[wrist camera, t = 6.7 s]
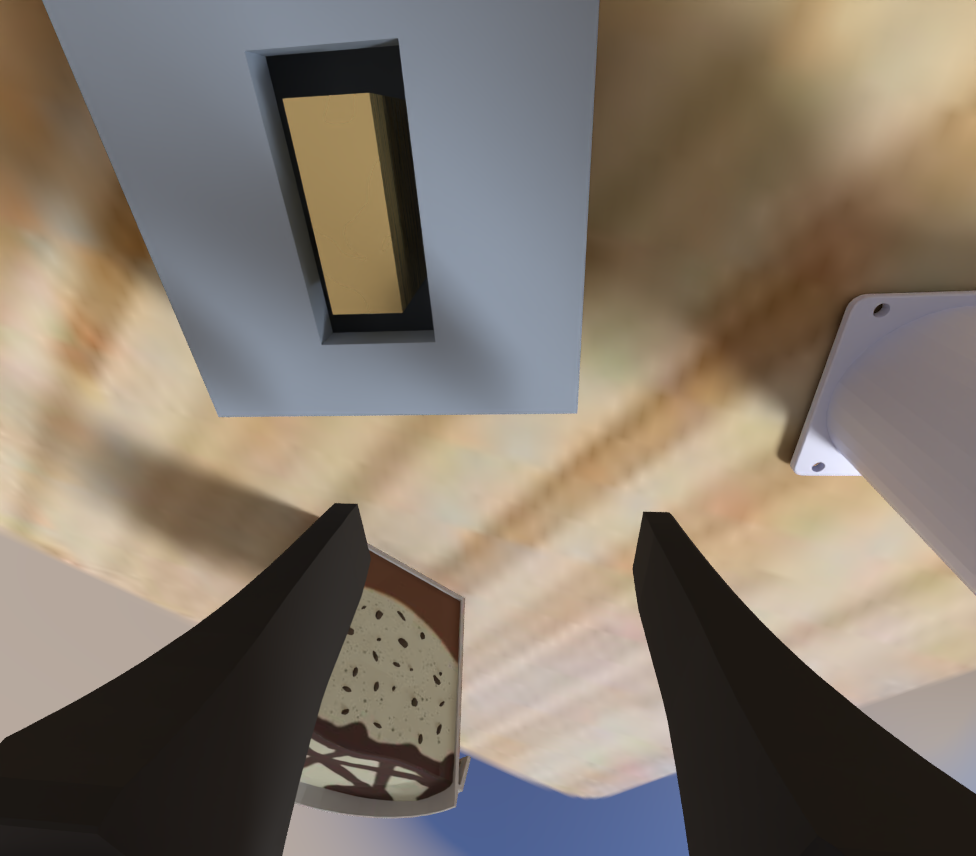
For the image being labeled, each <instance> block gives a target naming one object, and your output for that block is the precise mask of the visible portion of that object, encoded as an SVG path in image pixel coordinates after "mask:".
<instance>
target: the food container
mask: <svg viewBox="0 0 976 856" xmlns="http://www.w3.org/2000/svg"><path fill="white" fill-rule="evenodd" d="M367 545H368V549H369V553H370V557H371V561H370V565H369V570H368V574H367V578H366V582H365V586H364V589H363V593H362V597H361V599H360V602H359V605H358V607H357V610H356V613H355V615H354V618H353V620H352V623H351V626H350V628H349V631H348V633H347V636H346V638H345V641H344V644H343V646H342V649H341V651H340V654H339V656H338V659H337V661H336V664H335V666H334V669H333V672H332V674H331V677H330V679H329V682H328V685H327V688H326V691H325V694H324V696H323V699H322V703H321V706H320V710H319V713H318V717H317V720H316V724H315V727H314V731H313V734H312V738H311V741H310V745H309V749H308V752H307V756H306V760H305V764H304V767H303V771H302V775H301V779H300V782H299V786H298V790H297V795H296V799H295V803H294V804H297V805H301V806H305V807H308V808H312V809H316V810H321V811H326V812H331V813H336V814H342V815H349V816H357V817H369V818H407V817H408V818H409V817H418V816H425V815H431V814H435V813H438V812H443V811H445V810H448V809H452V808H454V807H456V803H457V796H458V793H459V792H461V791H463V787H464V783H465V779H466V775H467V771H468V767H469V763H470V759H471V757H470V756H466V757H464V758H461V759H459V751H460V722H461V693H462V665H463V636H464V607H465V598H463V597H462V596H460V595H458V594H456V593H454V592H453V591H451V590H449V589H447V588H446V587H444V586H442V585H440V584H439V583H437V582H435V581H433V580H431V579H430V578H428V577H426V576H424V575H423V574H421V573H419V572H417V571H416V570H414V569H412V568H410V567H409V566H407V565H405V564H403V563H401V562H400V561H398V560H396V559H394V558H393V557H391V556H389V555H387V554H386V553H384V552H382V551H380V550H379V549H377V548H375V547H373V546H371V545H370V544H368V543H367Z"/></svg>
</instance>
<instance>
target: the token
mask: <svg viewBox="0 0 976 856" xmlns="http://www.w3.org/2000/svg"><path fill="white" fill-rule="evenodd" d="M283 103H284V107H285V112H286V116H287V120H288V124H289V129H290V133H291V137H292V141H293V146H294V150H295V154H296V159H297V163H298V167H299V171H300V176H301V180H302V184H303V189H304V193H305V197H306V201H307V206H308V210H309V214H310V218H311V223H312V227H313V231H314V236H315V240H316V244H317V248H318V253H319V257H320V261H321V265H322V270H323V274H324V278H325V283H326V287H327V291H328V295H329V300H330V304H331V308H332V313H333V315H337V314H377V313H403V311H404V310H405V308H406V307H407V305H408V304H409V302H410V301H411V299H412V298H413V296H414V295H415V294H416V292H417V291H418V289H419V288H420V286H421V285H422V283H423V282H424V280H425V279H426V277H427V269H426V261H425V253H424V245H423V236H422V228H421V220H420V212H419V204H418V196H417V187H416V179H415V171H414V163H413V155H412V147H411V139H410V130H409V122H408V114H407V106H406V100H404V99H399V98H394V97H388V96H383V95H378V94H373V93H358V94H343V95H328V96H313V97H299V98H284V99H283Z"/></svg>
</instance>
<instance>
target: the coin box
mask: <svg viewBox="0 0 976 856" xmlns="http://www.w3.org/2000/svg"><path fill="white" fill-rule="evenodd" d="M42 1H43V4H44V6H45V9H46V11H47V13H48V16H49V18H50V20H51V23H52V25H53V27H54V30H55V32H56V34H57V37H58V39H59V42H60V44H61V46H62V49H63V51H64V53H65V56H66V58H67V60H68V63H69V65H70V67H71V70H72V72H73V74H74V77H75V79H76V82H77V84H78V86H79V89H80V91H81V93H82V96H83V98H84V100H85V103H86V105H87V107H88V110H89V112H90V115H91V117H92V119H93V122H94V124H95V126H96V129H97V131H98V133H99V136H100V138H101V140H102V143H103V145H104V148H105V150H106V152H107V155H108V157H109V159H110V162H111V164H112V166H113V169H114V171H115V173H116V176H117V178H118V181H119V183H120V185H121V188H122V190H123V192H124V195H125V197H126V199H127V202H128V204H129V206H130V209H131V211H132V214H133V216H134V218H135V221H136V223H137V225H138V228H139V230H140V232H141V235H142V237H143V239H144V242H145V244H146V247H147V249H148V251H149V254H150V256H151V258H152V261H153V263H154V265H155V268H156V270H157V272H158V275H159V277H160V280H161V282H162V284H163V287H164V289H165V291H166V294H167V296H168V298H169V301H170V303H171V305H172V308H173V310H174V313H175V315H176V317H177V320H178V322H179V324H180V327H181V329H182V331H183V334H184V336H185V338H186V341H187V343H188V346H189V348H190V350H191V353H192V355H193V357H194V360H195V362H196V364H197V367H198V369H199V371H200V374H201V376H202V379H203V381H204V383H205V386H206V388H207V390H208V393H209V395H210V397H211V400H212V402H213V404H214V407H215V409H216V411H217V414H218V416H219V417H266V416H366V415H466V414H567V413H577V408H578V389H579V370H580V352H581V333H582V315H583V296H584V278H585V259H586V241H587V222H588V204H589V185H590V166H591V148H592V129H593V111H594V92H595V74H596V55H597V37H598V18H599V0H42ZM358 93H373V94H378V95H383V96H388V97H394V98H399V99H404V100H406V106H407V114H408V122H409V130H410V139H411V147H412V155H413V163H414V171H415V179H416V187H417V196H418V204H419V212H420V220H421V228H422V236H423V245H424V253H425V261H426V269H427V277H426V279H425V280H424V282H423V283H422V285H421V286H420V288H419V289H418V291H417V292H416V294H415V295H414V296H413V298H412V299H411V301H410V302H409V304H408V305H407V307H406V308H405V310H404V311H403V313H377V314H337V315H333V313H332V308H331V304H330V300H329V295H328V291H327V287H326V283H325V278H324V274H323V270H322V265H321V261H320V257H319V253H318V248H317V244H316V240H315V236H314V231H313V227H312V223H311V218H310V214H309V210H308V206H307V201H306V197H305V193H304V189H303V184H302V180H301V176H300V171H299V167H298V163H297V159H296V154H295V150H294V146H293V141H292V137H291V133H290V129H289V124H288V120H287V116H286V112H285V107H284V103H283V99H284V98H299V97H313V96H328V95H343V94H358Z"/></svg>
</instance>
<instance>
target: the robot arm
mask: <svg viewBox="0 0 976 856" xmlns="http://www.w3.org/2000/svg"><path fill="white" fill-rule="evenodd" d="M880 304H883V307H882V308H881V310H880V311H878V312H877V313H874V314H873V312H874V309H875V308H876V307H877V306H878V305H880ZM819 462H820V463H819ZM816 463H819V464H818V465H816V466H813V465H814V464H816ZM790 466H791V468H792V470H793V471H794V472H795V473H796V474H798V475H810V476H863V477H864V478H865V479H866V480H867V481H868V482H869V483H870V484H871V486H872V487H873V488H874V489H875V490H876V491H877V492H878V493H879V494H880V495H881V496H882V497H883V498H884V499H885V500H886V501H887V502H888V503H889V505H890V506H891V507H892V508H893V509H894V510H895V511H896V512H897V513H898V514H899V515H900V516H901V517H902V518H903V519H904V520H905V521H906V523H907V524H908V525H909V526H910V527H911V528H912V529H913V530H914V531H915V532H916V533H917V534H918V535H919V536H920V537H921V538H922V539H923V540H924V542H925V543H926V544H927V545H928V546H929V547H930V548H931V549H932V550H933V551H934V552H935V553H936V554H937V555H938V556H939V557H940V558H941V559H942V561H943V562H944V563H945V564H946V565H947V566H948V567H949V568H950V569H951V570H952V571H953V572H954V573H955V574H956V575H957V576H958V577H959V578H960V580H961V581H962V582H963V583H964V584H965V585H966V586H967V587H968V588H969V589H970V590H971V591H972V592H973V593H974V594H975V595H976V291H947V292H914V293H882V294H864V295H859V296H858V297H856V298H854V299H853V300H852V301H851V302H850V303H849V304H848V306H847V308H846V310H845V313H844V316H843V318H842V321H841V324H840V327H839V330H838V332H837V335H836V338H835V341H834V343H833V346H832V349H831V352H830V354H829V357H828V360H827V363H826V366H825V368H824V371H823V374H822V377H821V379H820V382H819V385H818V388H817V390H816V393H815V396H814V399H813V402H812V404H811V407H810V410H809V413H808V415H807V418H806V421H805V424H804V426H803V429H802V432H801V435H800V438H799V440H798V443H797V446H796V449H795V451H794V454H793V457H792V460H791V463H790ZM370 561H371V557H370V553H369V549H368V545H367V541H366V537H365V533H364V528H363V524H362V520H361V516H360V512H359V508H358V504H341V503H335V504H334V505H332V506H331V507H330V508H329V509H328V510H327V511H326V512H325V513H324V514H323V515H322V516H321V517H320V518H319V519H318V520H317V521H316V522H315V523H314V524H313V525H312V526H311V527H310V528H309V529H308V530H307V531H306V532H304V533H303V534H302V535H301V536H300V537H299V538H298V539H297V540H296V541H295V542H294V543H293V544H292V545H291V546H290V547H289V548H288V549H287V550H286V551H285V552H284V553H283V554H281V555H280V556H279V557H278V558H277V559H276V560H275V561H274V562H273V563H272V564H271V565H270V566H269V567H267V568H266V569H265V570H264V571H263V572H262V573H261V574H259V575H258V576H257V577H256V578H255V579H254V580H253V581H251V582H250V583H249V584H248V585H247V586H246V587H244V588H243V589H242V590H241V591H240V592H239V593H237V594H236V595H235V596H234V597H233V598H231V599H230V600H229V601H228V602H226V603H225V604H224V605H222V606H221V607H220V608H219V609H217V610H216V611H215V612H213V613H212V614H211V615H209V616H208V617H207V618H205V619H204V620H203V621H201V622H200V623H199V624H197V625H196V626H195V627H193V628H192V629H190V630H189V631H188V632H186V633H185V634H183V635H182V636H180V637H179V638H177V639H176V640H174V641H173V642H171V643H170V644H168V645H167V646H165V647H164V648H162V649H161V650H159V651H158V652H156V653H155V654H153V655H152V656H150V657H149V658H147V659H146V660H144V661H143V662H141V663H139V664H138V665H136V666H135V667H133V668H131V669H130V670H128V671H126V672H125V673H123V674H121V675H120V676H118V677H117V678H115V679H113V680H111V681H110V682H108V683H106V684H105V685H103V686H101V687H99V688H98V689H96V690H94V691H93V692H91V693H89V694H87V695H86V696H84V697H82V698H81V699H79V700H77V701H75V702H73V703H71V704H69V705H67V706H66V707H64V708H62V709H60V710H58V711H56V712H54V713H52V714H50V715H48V716H47V717H45V718H43V719H41V720H39V721H37V722H35V723H33V724H32V725H29V726H28V727H26V728H24V729H22V730H20V731H18V732H16V733H14V734H12V735H10V736H8V737H6V738H5V739H4V740H3V741H2V742H1V743H0V856H282V854H283V849H284V845H285V840H286V836H287V832H288V828H289V823H290V819H291V815H292V811H293V807H294V803H295V799H296V795H297V790H298V786H299V782H300V779H301V775H302V771H303V767H304V764H305V760H306V756H307V752H308V749H309V745H310V741H311V738H312V734H313V731H314V727H315V724H316V720H317V717H318V713H319V710H320V706H321V703H322V699H323V696H324V694H325V691H326V688H327V685H328V682H329V679H330V677H331V674H332V672H333V669H334V666H335V664H336V661H337V659H338V656H339V654H340V651H341V649H342V646H343V644H344V641H345V638H346V636H347V633H348V631H349V628H350V626H351V623H352V620H353V618H354V615H355V613H356V610H357V607H358V605H359V602H360V599H361V597H362V593H363V589H364V586H365V582H366V578H367V574H368V570H369V565H370ZM633 576H634V583H635V590H636V597H637V603H638V609H639V613H640V617H641V621H642V624H643V628H644V632H645V636H646V640H647V643H648V647H649V651H650V654H651V658H652V662H653V665H654V669H655V673H656V676H657V680H658V684H659V688H660V691H661V695H662V699H663V703H664V707H665V711H666V716H667V720H668V725H669V731H670V737H671V743H672V748H673V754H674V760H675V765H676V772H677V778H678V784H679V790H680V796H681V803H682V809H683V815H684V822H685V829H686V836H687V843H688V850H689V856H976V794H975V793H974V792H972V791H970V790H969V789H968V788H966V787H965V786H963V785H961V784H960V783H959V782H957V781H956V780H955V779H953V778H951V777H950V776H949V775H947V774H946V773H944V772H943V771H941V770H940V769H938V768H937V767H935V766H934V765H932V764H931V763H930V762H928V761H927V760H926V759H924V758H923V757H921V756H920V755H919V754H917V753H916V752H915V751H913V750H912V749H911V748H909V747H908V746H907V745H905V744H904V743H903V742H901V741H900V740H899V739H897V738H896V737H894V736H893V735H892V734H890V733H889V732H888V731H886V730H885V729H884V728H882V727H881V726H880V725H879V724H877V723H876V722H875V721H873V720H872V719H871V718H869V717H868V716H867V715H866V714H864V713H863V712H862V711H861V710H860V709H858V708H857V707H856V706H855V705H853V704H852V703H851V702H850V701H849V700H847V699H846V698H845V697H844V696H843V695H841V694H840V693H839V692H838V691H836V690H835V689H834V688H833V687H832V686H830V685H829V684H828V683H827V682H826V681H824V680H823V679H822V678H821V677H820V676H818V675H817V674H816V673H815V672H814V671H813V670H812V669H810V668H809V667H808V666H807V665H806V664H805V663H804V662H803V661H802V660H800V659H799V658H798V657H797V656H796V655H795V654H794V653H793V652H792V651H791V650H790V649H789V648H788V647H787V646H786V645H784V644H783V643H782V642H781V641H780V640H779V639H778V638H777V637H776V636H775V635H774V634H773V633H772V632H771V631H770V630H769V629H768V628H767V627H766V626H765V625H764V624H763V623H762V622H761V621H760V620H759V619H758V618H757V616H756V615H755V614H754V613H753V612H752V611H751V610H750V609H749V608H748V607H747V606H746V605H745V604H744V603H743V602H742V600H741V599H740V598H739V597H738V596H737V595H736V594H735V593H734V592H733V590H732V589H731V588H730V587H729V586H728V585H727V583H726V582H725V581H724V580H723V579H722V578H721V576H720V575H719V574H718V573H717V572H716V571H715V569H714V568H713V567H712V566H711V565H710V563H709V562H708V561H707V560H706V559H705V557H704V556H703V555H702V554H701V552H700V551H699V550H698V548H697V547H696V546H695V545H694V543H693V542H692V541H691V540H690V538H689V537H688V536H687V534H686V533H685V532H684V530H683V529H682V528H681V526H680V525H679V524H678V522H677V521H676V520H675V518H674V517H673V516H672V515H671V514H670V513H669V512H643V517H642V522H641V527H640V532H639V538H638V543H637V548H636V554H635V559H634V564H633Z"/></svg>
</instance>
